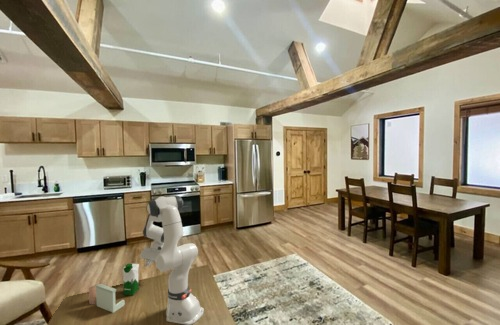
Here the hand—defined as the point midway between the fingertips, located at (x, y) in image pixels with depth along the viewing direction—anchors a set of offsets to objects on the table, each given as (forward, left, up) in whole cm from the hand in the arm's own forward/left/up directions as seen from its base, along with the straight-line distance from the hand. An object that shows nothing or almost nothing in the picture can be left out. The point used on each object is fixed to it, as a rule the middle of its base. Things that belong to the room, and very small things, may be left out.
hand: (146, 266), depth 165 cm
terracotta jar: (+13, +29, -12) cm, 34 cm away
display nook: (0, +28, -12) cm, 30 cm away
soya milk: (0, +13, -12) cm, 18 cm away
